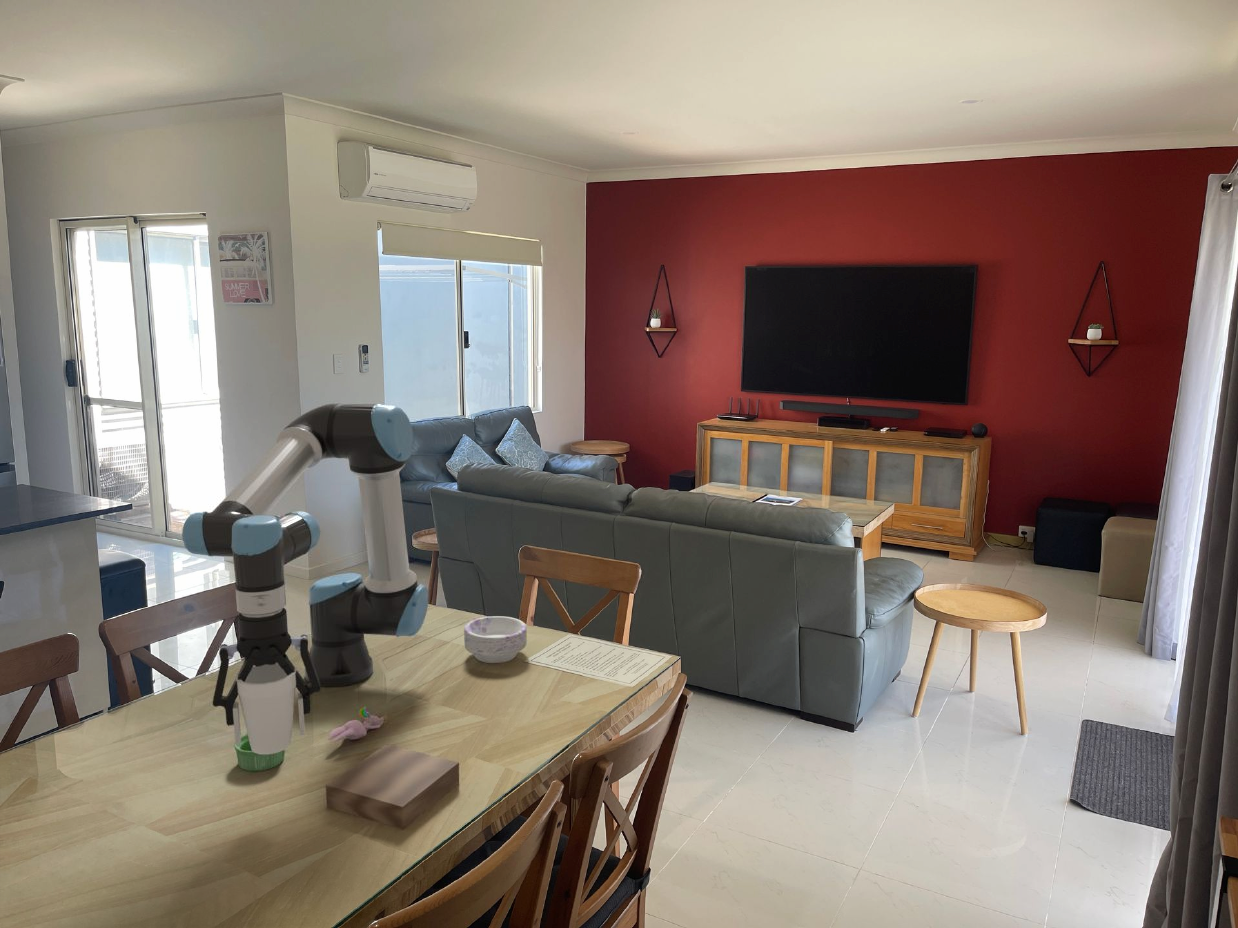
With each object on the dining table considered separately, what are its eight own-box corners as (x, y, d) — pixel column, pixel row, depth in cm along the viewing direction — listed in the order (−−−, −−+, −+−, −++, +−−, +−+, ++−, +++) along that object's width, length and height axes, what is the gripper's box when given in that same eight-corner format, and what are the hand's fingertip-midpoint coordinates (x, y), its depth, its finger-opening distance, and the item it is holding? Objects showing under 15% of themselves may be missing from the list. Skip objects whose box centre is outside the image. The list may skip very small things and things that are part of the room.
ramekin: (297, 754, 168) (296, 732, 167) (264, 777, 160) (262, 754, 159) (259, 746, 171) (258, 725, 170) (224, 768, 162) (223, 746, 162)
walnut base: (326, 806, 150) (325, 784, 149) (387, 763, 164) (386, 743, 164) (403, 829, 144) (402, 806, 143) (459, 782, 158) (458, 762, 157)
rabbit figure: (368, 725, 183) (318, 746, 169) (370, 697, 183) (320, 715, 169) (393, 731, 180) (344, 752, 167) (395, 702, 180) (346, 721, 166)
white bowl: (523, 668, 209) (522, 637, 208) (459, 668, 210) (458, 636, 208) (530, 645, 224) (530, 615, 223) (470, 644, 225) (470, 614, 223)
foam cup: (280, 762, 144) (275, 687, 142) (229, 755, 146) (223, 682, 144) (311, 734, 153) (307, 664, 151) (263, 729, 155) (258, 659, 153)
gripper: (185, 626, 138) (197, 758, 142) (333, 609, 146) (340, 735, 150) (190, 610, 145) (200, 736, 149) (331, 595, 153) (337, 716, 157)
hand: (270, 736), depth 149 cm, fingers closed on foam cup, 9 cm apart
